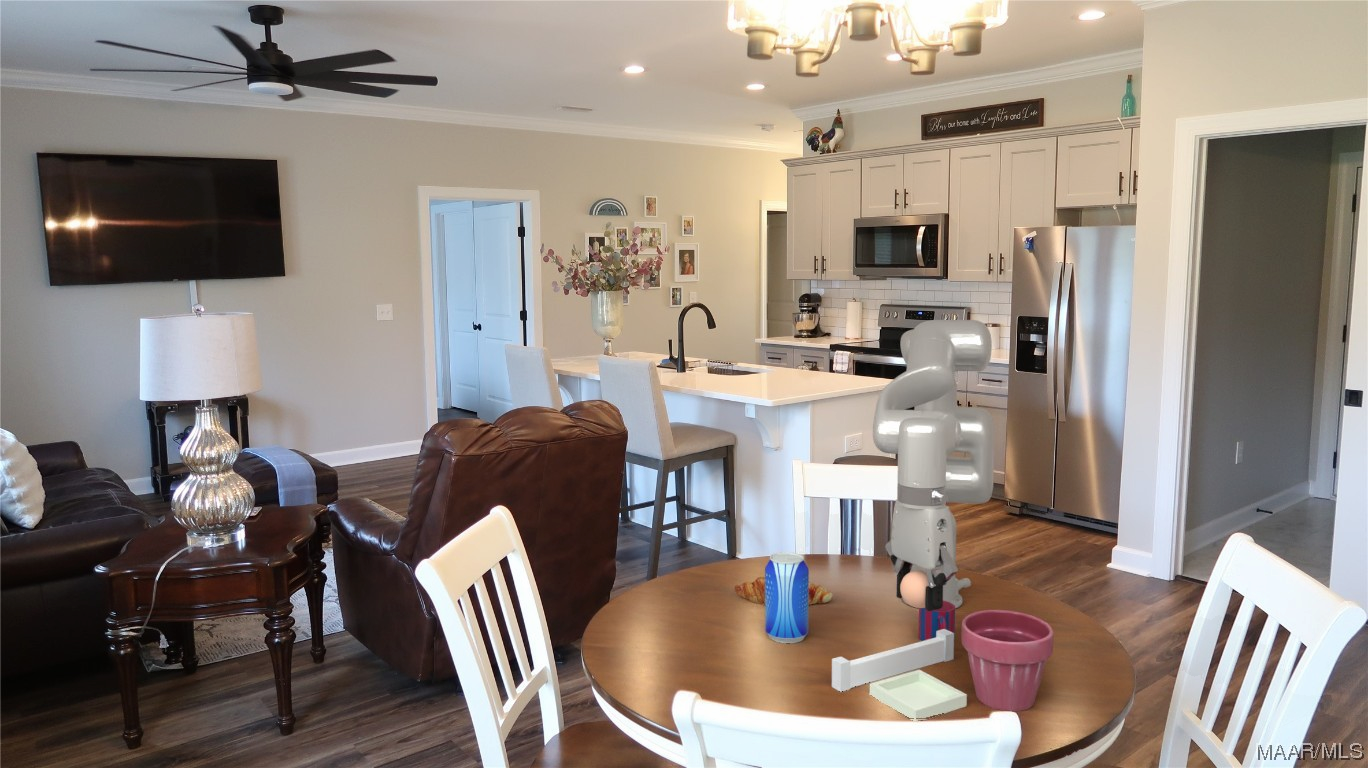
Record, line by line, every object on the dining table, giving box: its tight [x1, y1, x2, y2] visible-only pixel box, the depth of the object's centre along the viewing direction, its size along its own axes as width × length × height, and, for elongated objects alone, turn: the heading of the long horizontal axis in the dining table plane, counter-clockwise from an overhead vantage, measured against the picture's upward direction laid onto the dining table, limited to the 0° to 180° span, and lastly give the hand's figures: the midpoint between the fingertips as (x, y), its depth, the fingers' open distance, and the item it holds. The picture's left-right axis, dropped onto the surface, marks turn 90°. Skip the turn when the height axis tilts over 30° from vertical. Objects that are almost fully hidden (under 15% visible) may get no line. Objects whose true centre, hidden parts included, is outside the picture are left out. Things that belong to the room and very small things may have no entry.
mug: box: [918, 601, 956, 642], centre depth 174 cm, size 7×10×7 cm
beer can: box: [764, 551, 810, 644], centre depth 177 cm, size 8×8×16 cm
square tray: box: [869, 669, 968, 722], centre depth 151 cm, size 11×11×2 cm
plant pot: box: [961, 609, 1054, 712], centre depth 150 cm, size 14×14×13 cm
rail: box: [831, 629, 955, 693], centre depth 161 cm, size 26×2×5 cm, turn 119°
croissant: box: [734, 576, 834, 606], centre depth 197 cm, size 21×10×8 cm, turn 82°
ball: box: [900, 570, 929, 609], centre depth 149 cm, size 6×6×6 cm
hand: (919, 601), depth 149 cm, fingers closed on ball, 5 cm apart
